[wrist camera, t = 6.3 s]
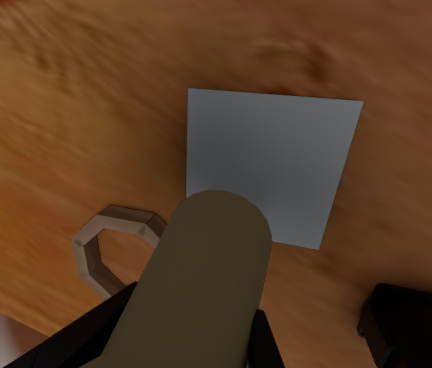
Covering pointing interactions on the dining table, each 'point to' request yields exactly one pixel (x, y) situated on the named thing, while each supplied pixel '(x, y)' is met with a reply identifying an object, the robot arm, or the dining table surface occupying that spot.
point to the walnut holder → (89, 251)
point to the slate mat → (272, 155)
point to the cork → (196, 289)
